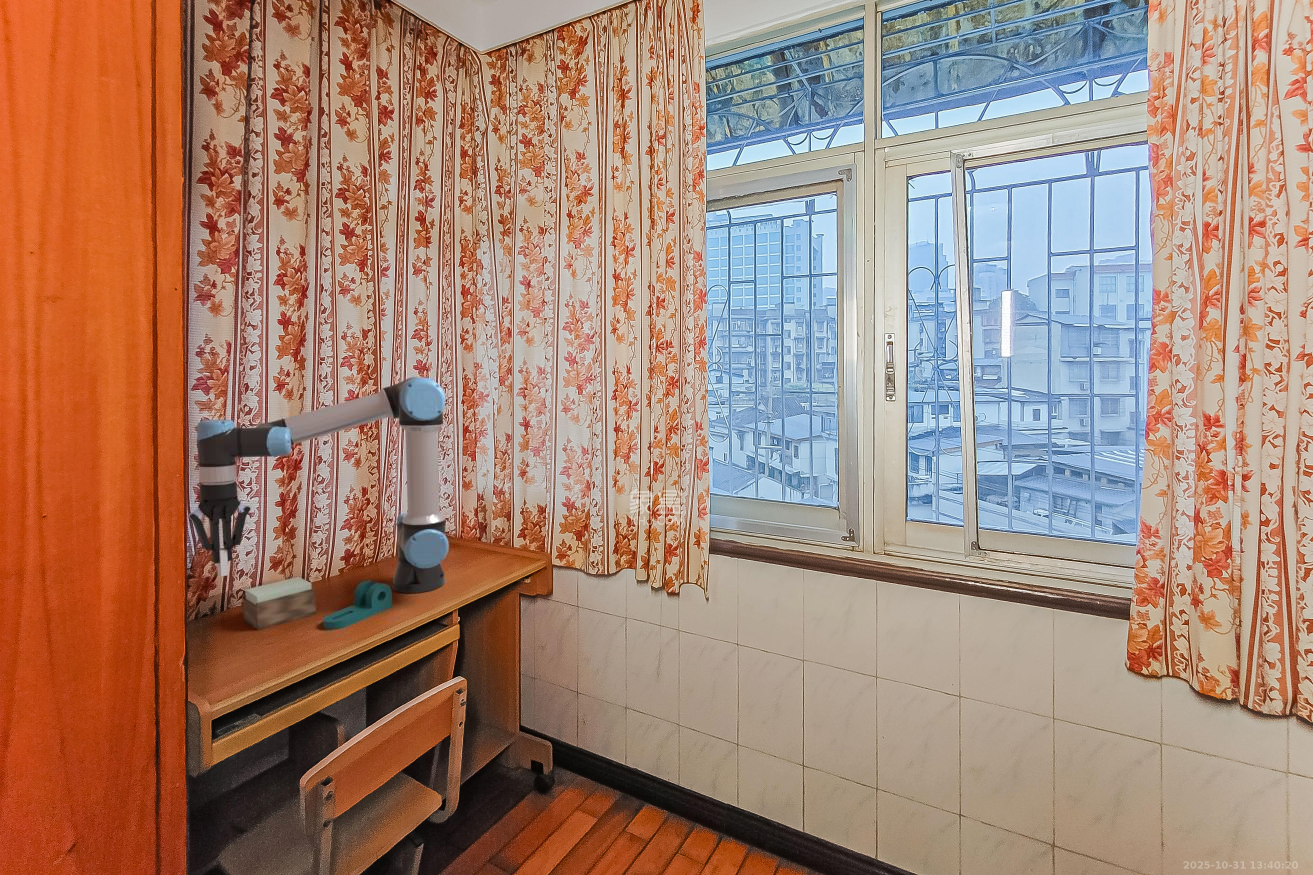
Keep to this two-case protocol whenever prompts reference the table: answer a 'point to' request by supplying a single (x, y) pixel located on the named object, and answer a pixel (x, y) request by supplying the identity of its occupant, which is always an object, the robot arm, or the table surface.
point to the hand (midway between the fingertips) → (222, 574)
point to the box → (279, 609)
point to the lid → (277, 590)
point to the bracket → (361, 605)
